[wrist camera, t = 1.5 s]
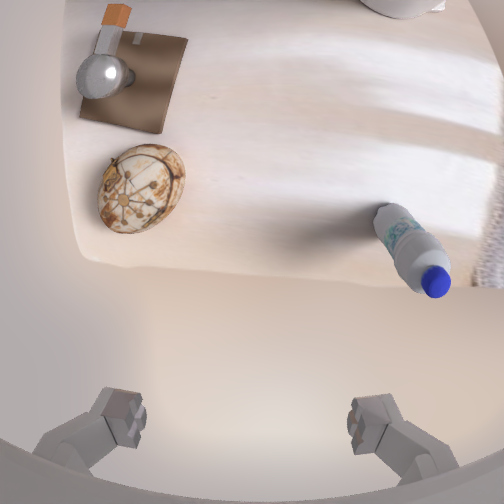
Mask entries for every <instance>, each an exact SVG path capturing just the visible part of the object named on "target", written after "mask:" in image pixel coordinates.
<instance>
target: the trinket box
mask: <svg viewBox="0 0 504 504" xmlns="http://www.w3.org/2000/svg"><path fill="white" fill-rule="evenodd" d="M111 161H112V163H111V165H110V166H109V167H108V168H107V170H106V171H105V173H104V174H103V179H102V181H101V184H100V187H99V191H98V210H99V213H100V216H101V218H102V220H103V222H104V223H105V225H106V226H107V227H108V228H110V229H111V230H112V231H114V232H117V233H127V234H134V233H140V232H143V231H146V230H148V229H150V228H152V227H154V226H155V225H157V224H158V223H160V222H161V221H162V220H163V219H164V218H166V217H167V216H168V215H169V213H170V212H171V211H172V210H173V209H174V207H175V206H176V204H177V203H178V201H179V199H180V197H181V195H182V192H183V188H184V184H185V168H184V165H183V162H182V160H181V158H180V157H179V155H178V154H177V153H176V152H174V151H173V150H171V149H169V148H167V147H165V146H162V145H157V144H144V145H139V146H136V147H133V148H131V149H129V150H128V151H126V152H125V153H123V154H122V155H121V156H120V157H117V158H116V159H115V160H114V159H113V158H111Z"/></svg>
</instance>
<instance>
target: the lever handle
mask: <svg viewBox="0 0 504 504" xmlns="http://www.w3.org/2000/svg"><path fill="white" fill-rule="evenodd" d="M131 9H132V8H130V7H128V6H126V5H124V4H108V6H107V9H106V12H105V15H104V17H103V20H102V23H101V25H102V28H101V32H100V35H99V38H98V42H97V45H96V49H95V52H94V54H95V55H92V56H90V57H88V58H87V59H86V60H85V61H84V62H83V63H82V64H81V66H80V68H79V70H78V72H77V77H76V84H77V88H78V90H79V92H80V93H81V95H83V96H84V97H86V98H89V99H97V98H110V97H114V96H116V95H118V94H119V93H120V92H121V91H122V90H123V89H124V88H125V86H126V84H127V82H128V79H129V68H128V66H127V64H126V62H125V61H124V60H123V59H121V58H119V57H115V54H116V51H117V48H118V44H119V41H120V38H121V34H122V31H123V28H125V27H126V24H127V21H128V18H129V15H130V12H131Z"/></svg>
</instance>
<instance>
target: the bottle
mask: <svg viewBox="0 0 504 504" xmlns="http://www.w3.org/2000/svg"><path fill="white" fill-rule="evenodd" d="M373 225H374V229H375V232H376V235H377V236H378V238H379V239H380V240H381V242H382V243H383V244H384V245H385V246H386V248H387V250H388V251H389V253H390V255H391V256H392V258H393V259H394V265H395V268H396V270H397V272H398V274H399V276H400V277H401V278H402V279H403V280H404V281H405V282H406V283H407V285H408V286H409V287H410V288H411V289H412V290H413V291H415V292H417V293H423V294H424V293H426V294H427V295H428V296H429V297H431V298H440V297H442V296H443V295H445V294H446V293H447V292H448V290H449V288H450V284H451V279H450V276H449V273H450V268H451V263H450V259H449V257H448V255H447V253H446V251H445V250H444V248H443V246H442V244H441V243H440V241H439V240H438V239H437V238H435V237H434V236H433V235H432V234H431V233H429V232H426V231H425V230H424V229H423V228H422V227H421V226H420V224H419V223H418V222H417V221H416V220H415V219H414V218H413V216H412V215H411V214H410V213H409V211H408V210H407V209H405V208H404V207H402V206H400V205H398V204H395V203H390V204H389V205H387V206H384V207H380V208H379V209H378V212H377V215H376V217H375V218H374V219H373Z"/></svg>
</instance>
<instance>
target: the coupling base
mask: <svg viewBox="0 0 504 504" xmlns="http://www.w3.org/2000/svg"><path fill="white" fill-rule="evenodd" d="M100 32H101V30H100ZM100 32H99V35H100ZM98 38H99V36H98ZM97 42H98V39H97ZM97 42H96V45H97ZM187 42H188V39H186V38H181V37H174V36H166V35H159V34H150V33H141V32H127V31H122V34H121V38H120V41H119V44H118V48H117V51H116V54H115V57H119V58H121V59H123V60H124V61H125V62H126V64H127V66H128V68H129V79H128V82H127V84H126V86H125V88H124V89H123V90H122V91H121V92H120V93H119V94H118V95H116V96H114V97H110V98H97V99H89V98H86V97H84V96H83V100H82V105H81V111H80V116H79V117H80V118H86V119H91V120H97V121H102V122H107V123H112V124H116V125H121V126H126V127H130V128H135V129H139V130H144V131H148V132H152V133H156V134H161V133H162V130H163V125H164V121H165V117H166V113H167V110H168V106H169V102H170V98H171V95H172V91H173V87H174V84H175V80H176V77H177V74H178V70H179V67H180V64H181V60H182V57H183V54H184V51H185V48H186V45H187ZM95 49H96V46H95ZM95 49H94V52H95ZM93 55H95V54H94V53H93Z"/></svg>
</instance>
